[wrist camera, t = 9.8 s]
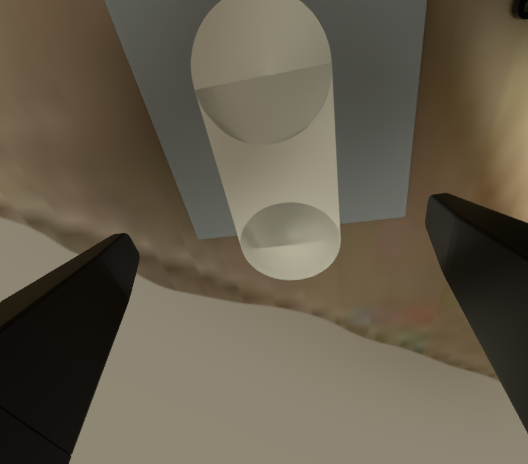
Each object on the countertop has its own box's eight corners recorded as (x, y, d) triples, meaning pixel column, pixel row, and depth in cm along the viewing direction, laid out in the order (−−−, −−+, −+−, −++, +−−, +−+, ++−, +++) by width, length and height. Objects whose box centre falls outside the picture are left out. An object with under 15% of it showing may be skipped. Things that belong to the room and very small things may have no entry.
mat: (430, -87, 12) (436, -92, 11) (402, 211, 20) (405, 216, 19) (108, -4, 14) (102, -4, 14) (200, 234, 22) (198, 239, 22)
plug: (312, -18, 13) (327, -32, 8) (331, 238, 21) (343, 307, 16) (211, 6, 14) (169, 6, 9) (266, 245, 22) (260, 313, 17)
